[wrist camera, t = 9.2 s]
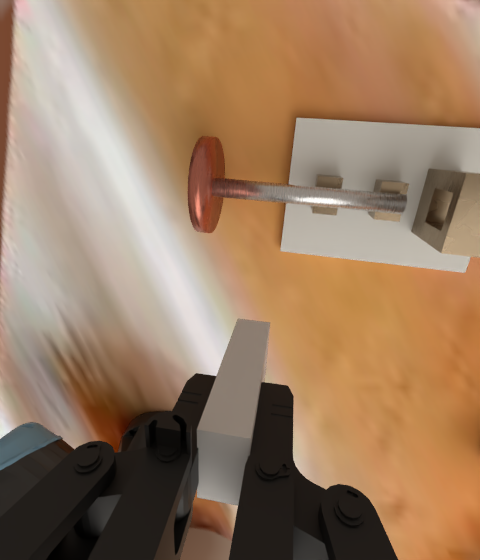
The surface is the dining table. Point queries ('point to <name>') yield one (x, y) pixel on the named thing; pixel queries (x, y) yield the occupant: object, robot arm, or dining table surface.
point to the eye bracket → (433, 209)
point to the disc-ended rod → (265, 190)
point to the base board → (362, 175)
